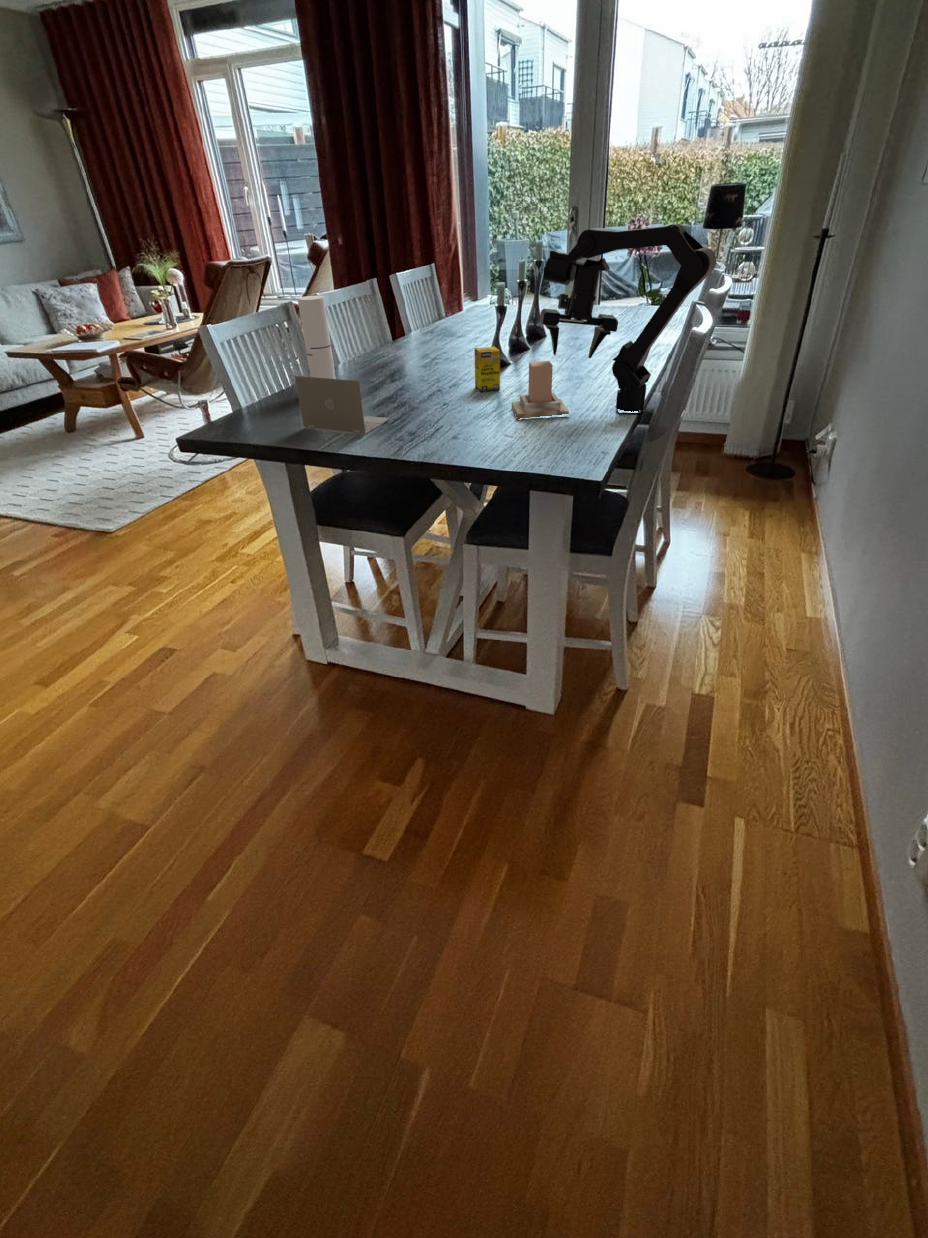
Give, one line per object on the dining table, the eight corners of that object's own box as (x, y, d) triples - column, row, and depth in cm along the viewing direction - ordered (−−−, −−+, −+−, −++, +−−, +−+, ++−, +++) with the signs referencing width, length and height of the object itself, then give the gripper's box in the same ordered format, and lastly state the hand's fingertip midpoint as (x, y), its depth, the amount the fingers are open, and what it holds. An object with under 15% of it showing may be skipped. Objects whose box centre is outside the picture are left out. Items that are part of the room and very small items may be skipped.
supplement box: (480, 392, 181) (479, 352, 175) (474, 387, 186) (473, 347, 180) (500, 390, 183) (500, 350, 176) (494, 385, 187) (493, 345, 181)
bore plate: (560, 404, 169) (560, 390, 167) (568, 417, 160) (569, 402, 158) (511, 407, 169) (511, 393, 167) (517, 420, 160) (517, 405, 158)
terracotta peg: (547, 408, 167) (548, 360, 160) (550, 414, 163) (552, 365, 156) (528, 409, 166) (529, 361, 160) (531, 415, 162) (532, 366, 156)
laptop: (390, 421, 164) (384, 368, 156) (365, 436, 154) (358, 381, 147) (330, 415, 170) (323, 363, 162) (303, 429, 161) (294, 376, 153)
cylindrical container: (332, 394, 185) (317, 299, 171) (309, 394, 187) (293, 299, 172) (340, 387, 191) (327, 295, 177) (318, 387, 192) (303, 295, 178)
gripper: (614, 286, 161) (600, 351, 170) (541, 279, 159) (531, 345, 168) (625, 294, 152) (610, 362, 161) (548, 287, 150) (537, 356, 159)
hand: (571, 356), depth 163 cm, fingers open, 9 cm apart
